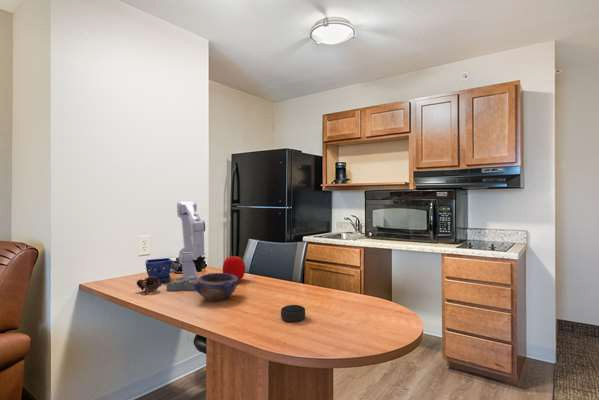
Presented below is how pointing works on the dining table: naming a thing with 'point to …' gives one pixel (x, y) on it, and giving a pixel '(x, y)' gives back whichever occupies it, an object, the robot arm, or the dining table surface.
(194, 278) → the slate button
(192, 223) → the robot arm
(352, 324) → the dining table surface
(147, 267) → the flower pot
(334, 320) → the dining table surface
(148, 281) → the brown bird figurine
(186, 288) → the panel
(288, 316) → the smart speaker
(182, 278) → the peach ball
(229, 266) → the tomato
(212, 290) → the bowl
